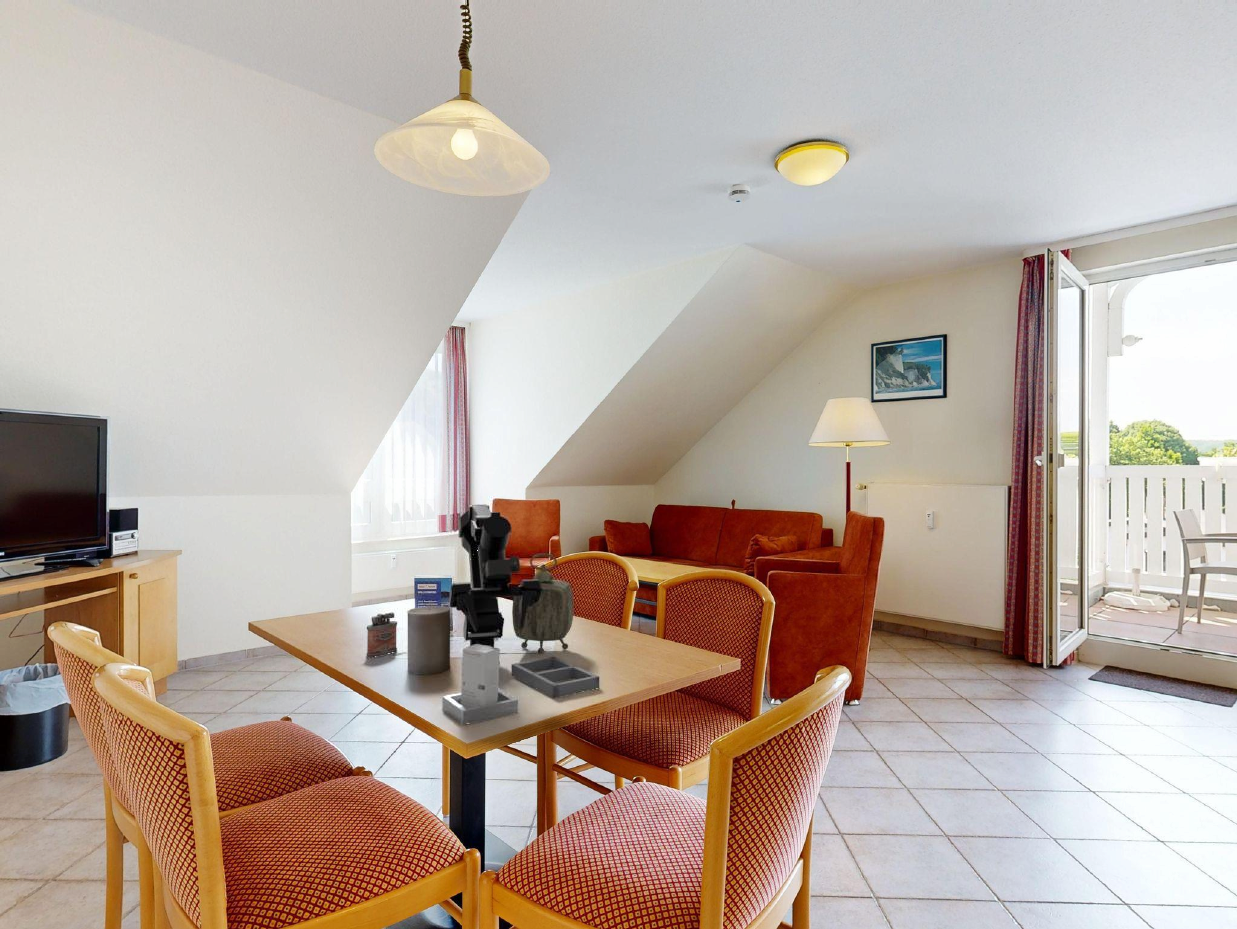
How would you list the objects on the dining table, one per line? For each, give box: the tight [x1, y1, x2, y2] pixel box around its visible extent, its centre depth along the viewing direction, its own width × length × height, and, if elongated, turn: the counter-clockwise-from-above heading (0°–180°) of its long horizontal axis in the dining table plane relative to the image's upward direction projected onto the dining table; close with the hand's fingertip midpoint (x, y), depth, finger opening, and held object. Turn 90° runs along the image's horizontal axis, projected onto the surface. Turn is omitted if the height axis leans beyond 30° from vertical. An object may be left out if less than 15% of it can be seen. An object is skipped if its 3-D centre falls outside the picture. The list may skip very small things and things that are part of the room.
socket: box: [441, 687, 519, 726], centre depth 130 cm, size 10×11×2 cm
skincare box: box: [460, 644, 501, 709], centre depth 130 cm, size 6×4×12 cm
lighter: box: [366, 612, 398, 658], centre depth 171 cm, size 8×3×10 cm, turn 143°
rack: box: [511, 656, 600, 699], centre depth 149 cm, size 19×11×2 cm, turn 36°
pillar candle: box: [407, 604, 451, 675], centre depth 158 cm, size 10×10×15 cm
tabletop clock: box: [511, 553, 575, 655], centre depth 173 cm, size 14×9×25 cm, turn 84°
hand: (499, 629), depth 138 cm, fingers open, 9 cm apart
